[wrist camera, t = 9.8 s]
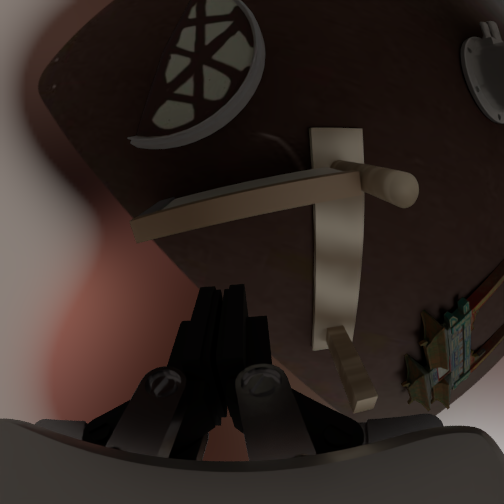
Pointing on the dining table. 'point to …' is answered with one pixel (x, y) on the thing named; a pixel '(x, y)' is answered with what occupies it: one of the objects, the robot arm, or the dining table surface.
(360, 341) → the dining table surface
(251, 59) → the food container
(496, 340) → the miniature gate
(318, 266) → the gate frame
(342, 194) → the panel
